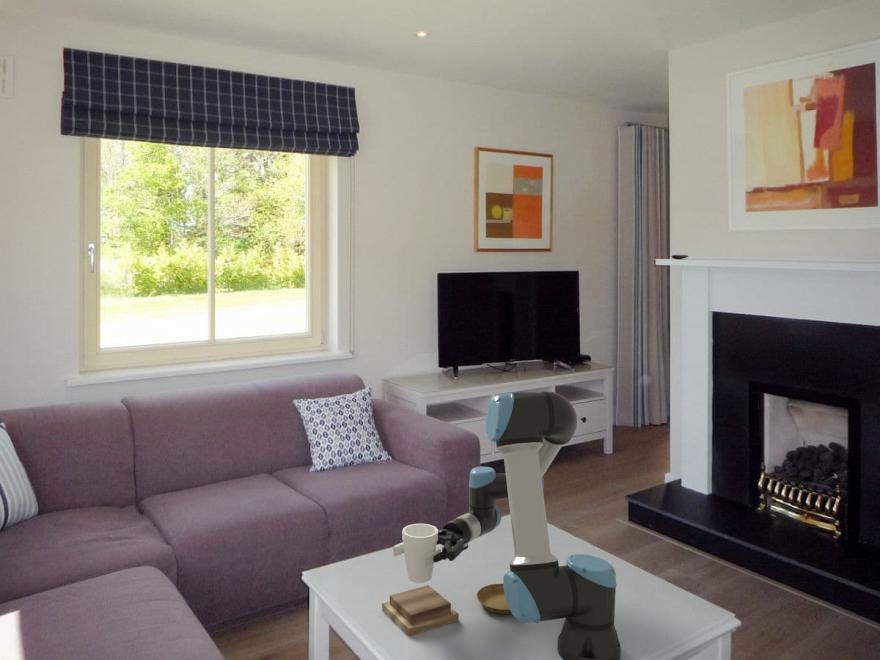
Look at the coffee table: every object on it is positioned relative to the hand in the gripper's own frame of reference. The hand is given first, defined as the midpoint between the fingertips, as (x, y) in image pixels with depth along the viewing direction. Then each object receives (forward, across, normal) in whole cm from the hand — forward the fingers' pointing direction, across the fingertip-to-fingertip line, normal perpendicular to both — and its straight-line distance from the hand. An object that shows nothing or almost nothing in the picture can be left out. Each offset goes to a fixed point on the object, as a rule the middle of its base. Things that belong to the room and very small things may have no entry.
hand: (408, 557), depth 189 cm
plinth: (-4, 0, -18) cm, 18 cm away
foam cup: (-4, 0, -7) cm, 9 cm away
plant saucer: (-24, -14, -18) cm, 33 cm away
